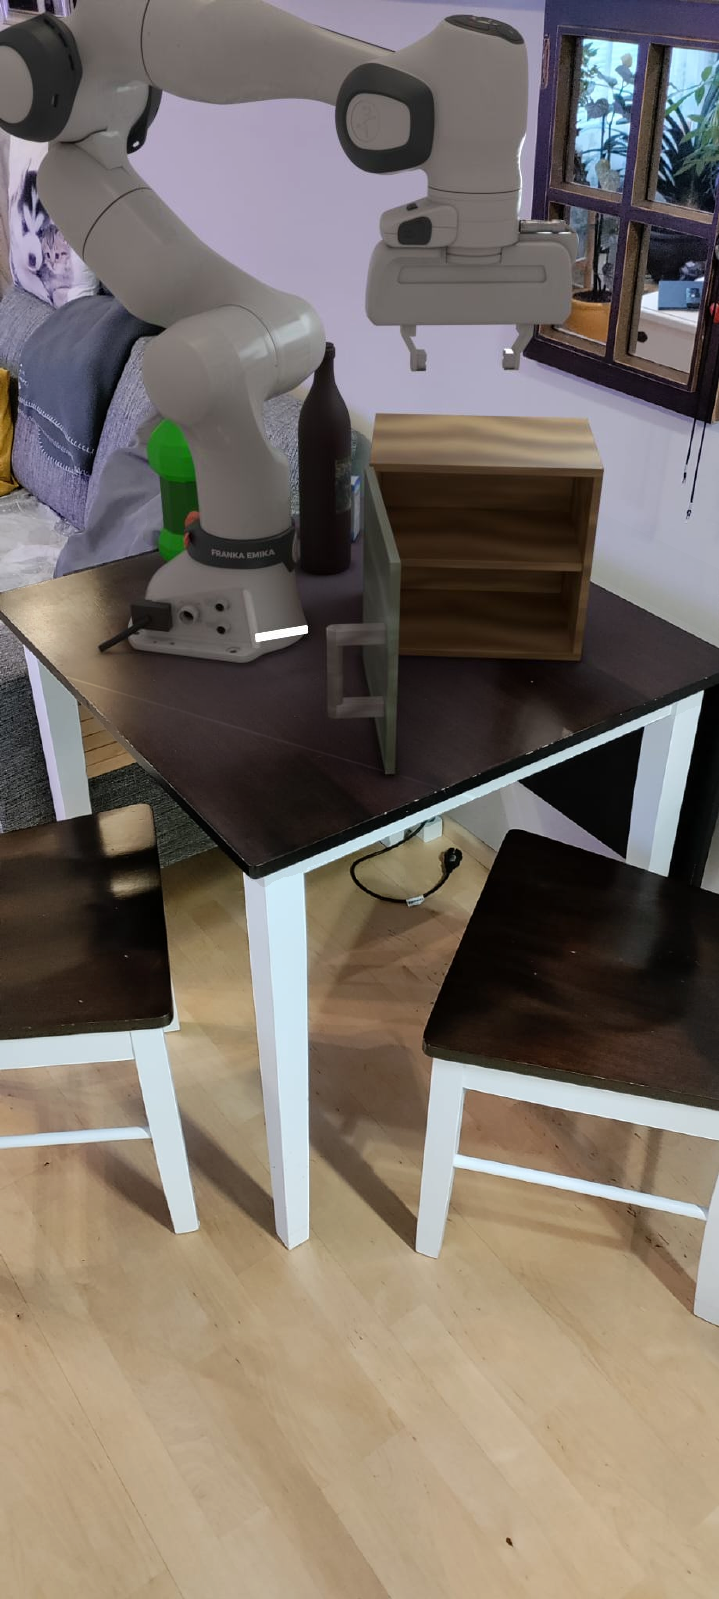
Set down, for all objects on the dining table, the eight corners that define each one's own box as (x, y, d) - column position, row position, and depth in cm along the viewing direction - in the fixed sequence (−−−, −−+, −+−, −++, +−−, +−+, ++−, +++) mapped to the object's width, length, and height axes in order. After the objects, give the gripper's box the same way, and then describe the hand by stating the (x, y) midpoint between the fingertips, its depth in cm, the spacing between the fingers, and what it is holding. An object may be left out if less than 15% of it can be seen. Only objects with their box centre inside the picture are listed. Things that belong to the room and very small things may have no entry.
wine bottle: (340, 579, 167) (340, 354, 149) (292, 571, 169) (287, 348, 151) (357, 559, 172) (359, 340, 155) (311, 552, 174) (308, 334, 157)
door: (330, 776, 126) (328, 564, 113) (314, 658, 148) (312, 467, 134) (394, 774, 127) (401, 562, 113) (370, 656, 148) (373, 466, 135)
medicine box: (301, 538, 178) (300, 481, 173) (307, 527, 182) (306, 470, 177) (354, 542, 177) (355, 484, 172) (359, 530, 181) (360, 474, 176)
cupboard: (580, 661, 148) (604, 468, 134) (366, 654, 149) (369, 462, 135) (567, 597, 163) (587, 417, 149) (373, 591, 164) (375, 412, 150)
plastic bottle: (154, 583, 165) (137, 397, 151) (164, 552, 174) (149, 373, 159) (228, 584, 165) (218, 398, 151) (234, 552, 174) (225, 374, 159)
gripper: (573, 213, 118) (559, 359, 126) (364, 214, 117) (362, 361, 125) (588, 225, 113) (572, 377, 121) (369, 226, 112) (367, 379, 120)
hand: (464, 369), depth 123 cm, fingers open, 8 cm apart
